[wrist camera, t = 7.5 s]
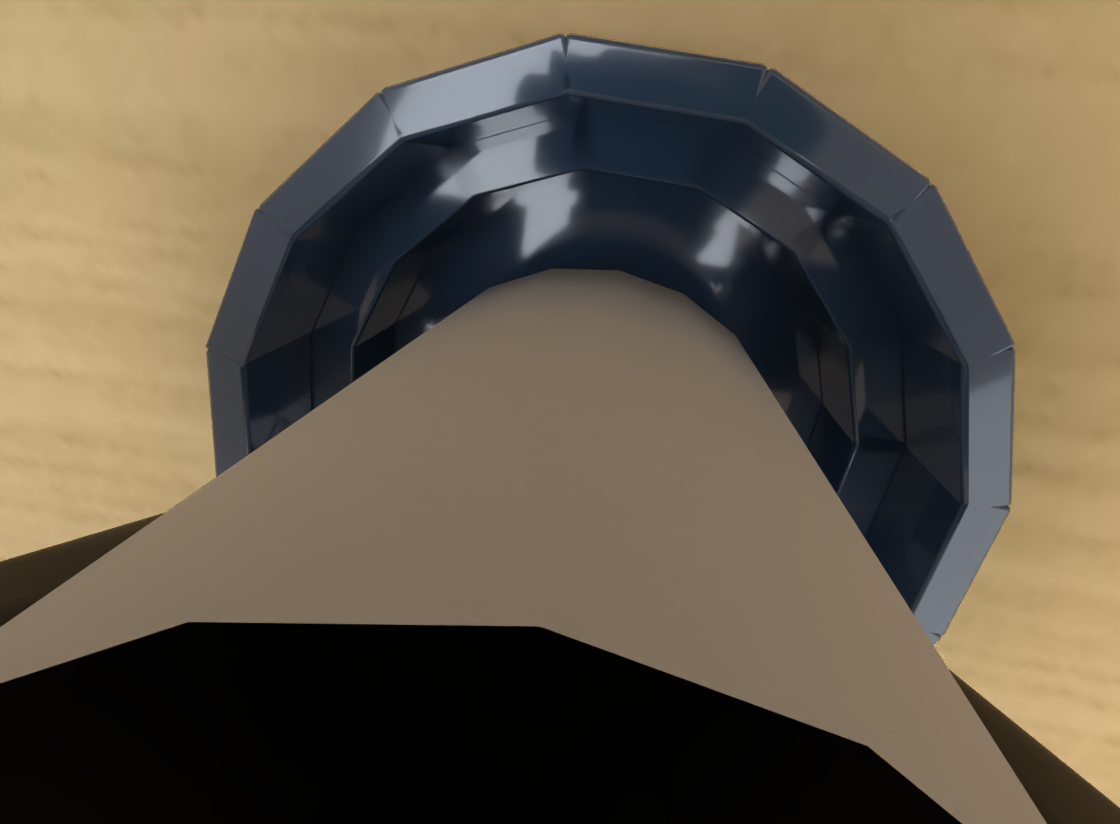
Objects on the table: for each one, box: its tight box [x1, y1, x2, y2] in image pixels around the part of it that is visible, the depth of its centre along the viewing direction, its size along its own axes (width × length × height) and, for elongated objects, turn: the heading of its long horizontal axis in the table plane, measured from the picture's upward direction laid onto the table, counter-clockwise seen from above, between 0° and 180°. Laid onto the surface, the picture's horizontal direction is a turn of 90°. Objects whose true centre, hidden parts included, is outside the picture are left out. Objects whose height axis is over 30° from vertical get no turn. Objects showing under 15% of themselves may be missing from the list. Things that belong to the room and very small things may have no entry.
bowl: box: [206, 33, 1015, 644], centre depth 12 cm, size 13×13×5 cm
